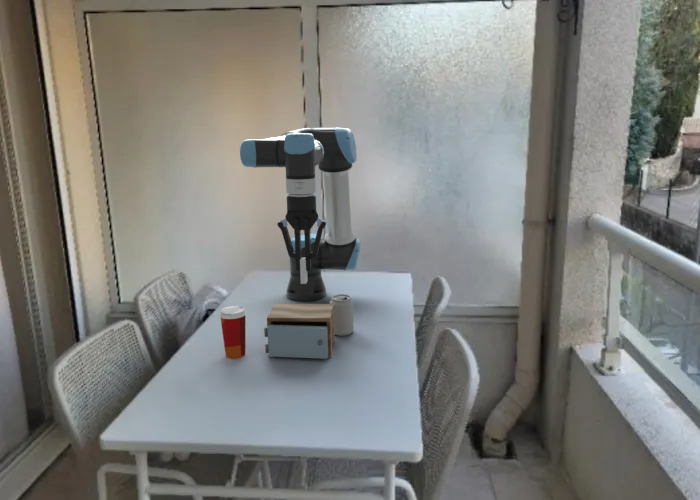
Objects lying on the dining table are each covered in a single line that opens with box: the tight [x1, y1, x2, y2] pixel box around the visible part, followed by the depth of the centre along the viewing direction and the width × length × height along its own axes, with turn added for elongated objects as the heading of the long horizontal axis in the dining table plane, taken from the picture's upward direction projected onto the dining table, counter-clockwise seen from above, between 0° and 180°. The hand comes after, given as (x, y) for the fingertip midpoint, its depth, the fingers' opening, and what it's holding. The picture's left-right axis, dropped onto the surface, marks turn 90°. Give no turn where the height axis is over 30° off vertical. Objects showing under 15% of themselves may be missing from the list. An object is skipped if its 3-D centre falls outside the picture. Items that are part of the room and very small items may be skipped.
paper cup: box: [218, 305, 247, 360], centre depth 164 cm, size 8×8×14 cm
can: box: [329, 293, 355, 337], centre depth 180 cm, size 8×8×12 cm
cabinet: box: [266, 303, 335, 359], centre depth 168 cm, size 12×18×12 cm, turn 87°
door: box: [264, 325, 328, 360], centre depth 160 cm, size 3×18×9 cm, turn 83°
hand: (304, 282), depth 152 cm, fingers closed
